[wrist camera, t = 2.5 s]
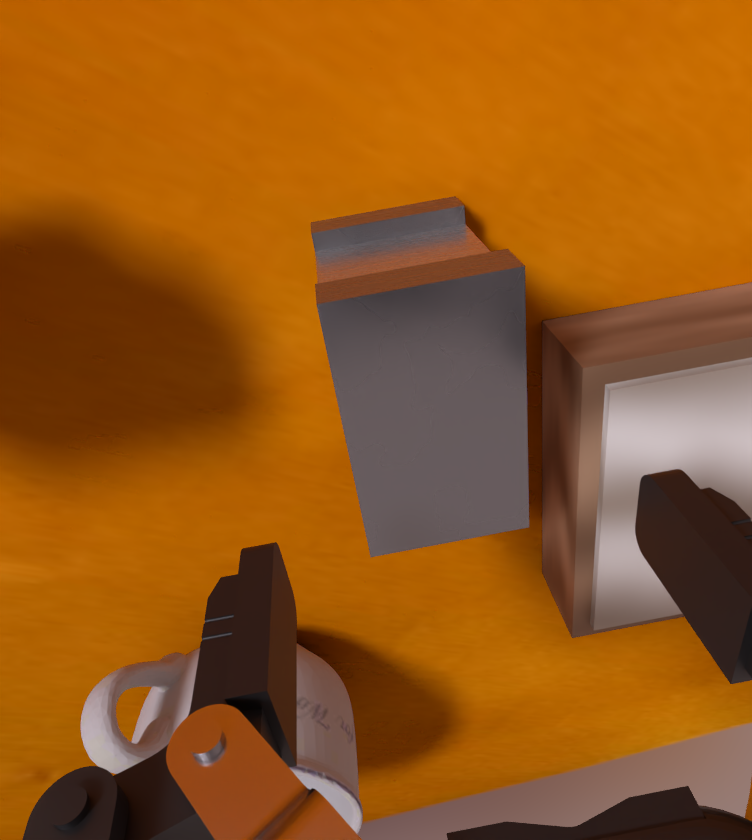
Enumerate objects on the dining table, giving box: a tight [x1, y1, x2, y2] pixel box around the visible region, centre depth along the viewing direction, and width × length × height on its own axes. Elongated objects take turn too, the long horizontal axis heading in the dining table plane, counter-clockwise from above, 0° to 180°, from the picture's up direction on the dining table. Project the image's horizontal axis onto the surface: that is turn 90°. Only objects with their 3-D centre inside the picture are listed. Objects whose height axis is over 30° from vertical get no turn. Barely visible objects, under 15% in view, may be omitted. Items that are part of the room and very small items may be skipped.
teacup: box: [81, 644, 363, 834], centre depth 29 cm, size 14×11×8 cm
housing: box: [311, 196, 529, 557], centre depth 20 cm, size 8×5×8 cm, turn 9°
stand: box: [542, 282, 752, 638], centre depth 26 cm, size 14×11×4 cm
